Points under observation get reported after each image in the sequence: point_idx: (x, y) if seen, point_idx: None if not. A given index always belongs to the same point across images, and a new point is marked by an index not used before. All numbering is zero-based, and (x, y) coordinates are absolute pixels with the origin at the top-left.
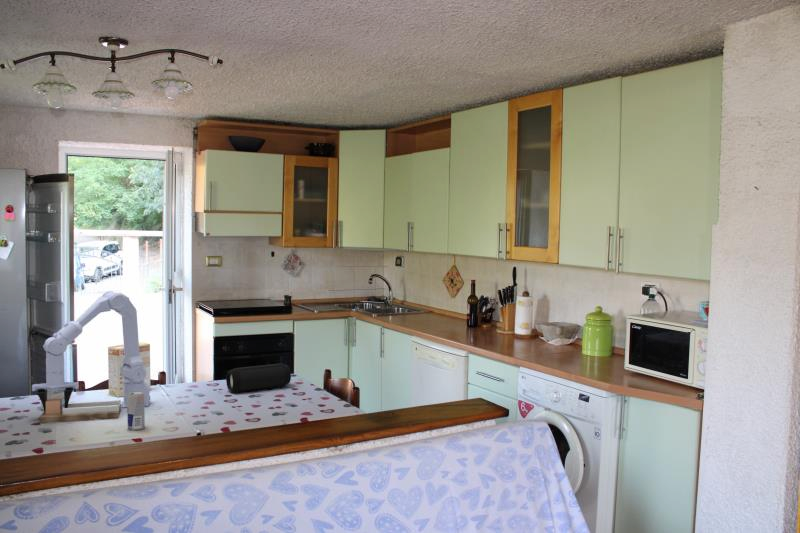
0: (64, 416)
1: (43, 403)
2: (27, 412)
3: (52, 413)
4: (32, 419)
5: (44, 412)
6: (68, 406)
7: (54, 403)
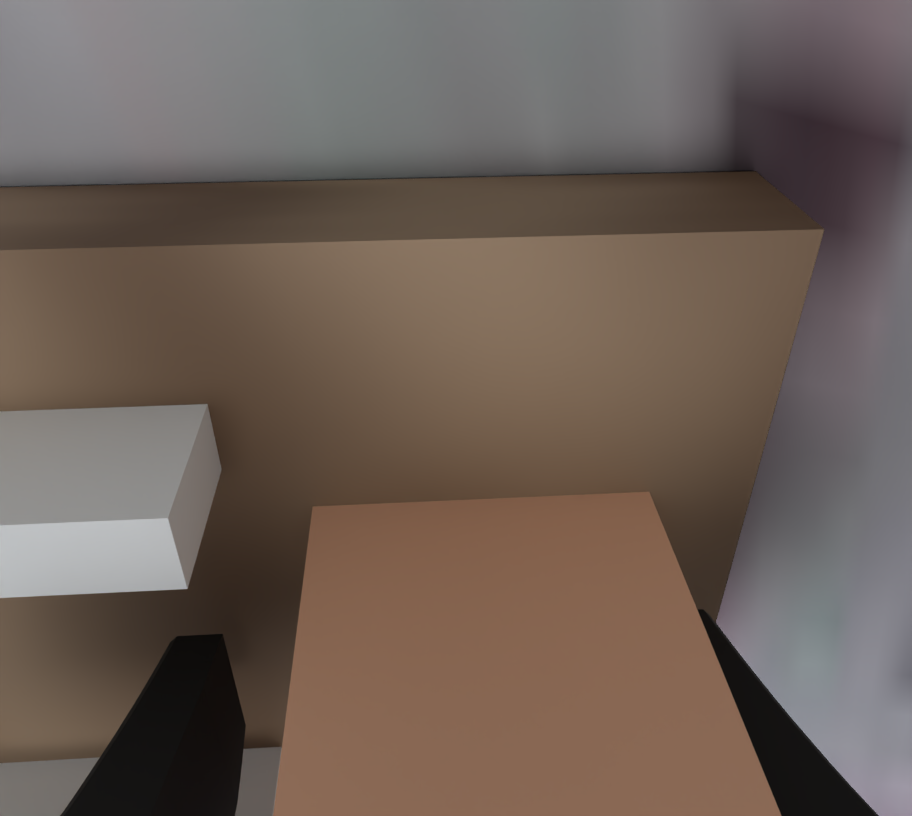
0: (86, 238)
1: (815, 785)
2: (881, 807)
3: (494, 507)
4: (859, 504)
5: None
6: None
7: (461, 759)
